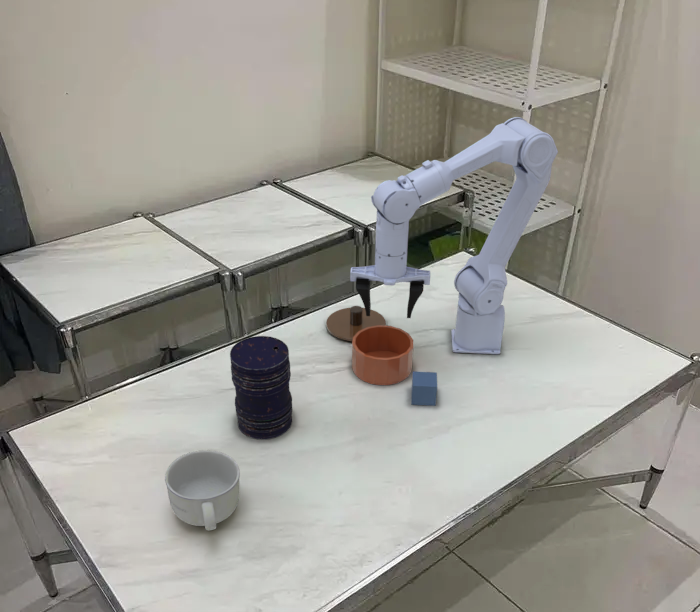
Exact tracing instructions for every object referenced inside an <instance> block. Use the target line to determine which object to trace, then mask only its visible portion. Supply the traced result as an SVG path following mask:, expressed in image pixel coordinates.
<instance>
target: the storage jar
mask: <svg viewBox="0 0 700 612" xmlns="http://www.w3.org/2000/svg"><path fill="white" fill-rule="evenodd" d="M229 359H230V373H231V381H232V384H233V386H234V389H235V397H234V407H235V415H236V419H237V426H238V429H239V430H240V432H241V433H242V434H243V435H245V436H246V437H249V438H251V439H254V440H261V441H262V440H263V441H264V440H271V439H276V438H279V437H281V436H283V435H285V434H286V433H287V432H289V430H290V429H291V427H292V425H293V397H292V392H291V391H290V380H291V375H292V373H291V362H290V350H289V347H288V345H287V343H285V342H284V341H283V340H281V339H280V338H277V337H273V336H269V335H268V336H267V335H256V336H249V337H247V338H244V339H241V340H240V341H238V342H236V343H235V344H234V345H233V346H232V348H231V350H230V352H229Z"/></svg>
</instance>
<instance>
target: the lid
mask: <svg viewBox="0 0 700 612" xmlns="http://www.w3.org/2000/svg"><path fill="white" fill-rule="evenodd" d="M325 325H326V329H327V331H328V332H329V333H330V334H331V335H332V336H334V337H336V338H337V339H340V340H343V341H348V342H352V341H353V337H354V336H355V335H356V333H357V332H358V331H360V330H362V329H364V328H366V327H371V326H377V325H384V326H387V321H386V319H385V317H384V316H383V315H382V314H381V313H380V312H378V311H376V310H374V309H371V311H370V316H366V311H365V307H362V306H360V305H352V306H351V307H350V306H349V307H345V308H341V309H337V310H336V311H334V312H332V313H331V314H330V315H329V316H328V317H327V318H326V321H325Z"/></svg>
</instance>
